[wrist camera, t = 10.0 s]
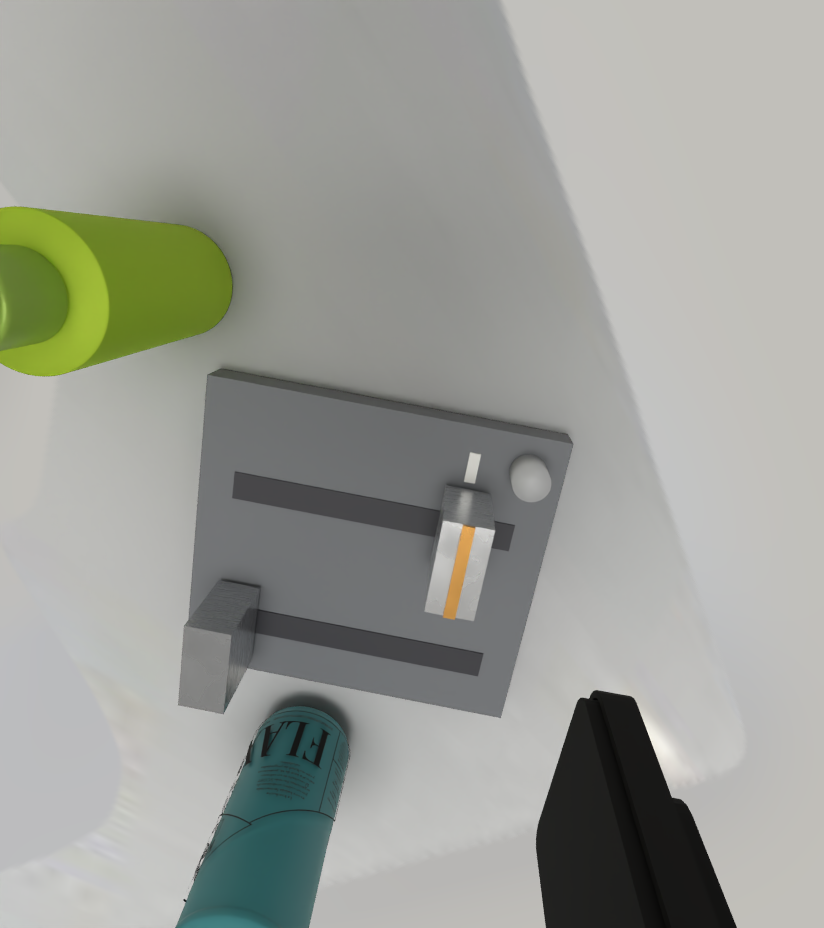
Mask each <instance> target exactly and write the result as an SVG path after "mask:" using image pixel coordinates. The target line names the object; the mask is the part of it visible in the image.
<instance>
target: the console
mask: <svg viewBox="0 0 824 928" xmlns="http://www.w3.org/2000/svg"><path fill="white" fill-rule="evenodd" d="M572 448H573V443H572V441H571V439H570V437H569V436H568V434H563V433H558V432H552V431H547V430H542V429H537V428H531V427H526V426H521V425H515V424H510V423H505V422H500V421H494V420H489V419H484V418H478V417H473V416H468V415H463V414H457V413H452V412H447V411H442V410H436V409H431V408H426V407H420V406H415V405H410V404H405V403H399V402H394V401H389V400H383V399H378V398H373V397H368V396H362V395H357V394H352V393H346V392H341V391H336V390H331V389H325V388H320V387H315V386H309V385H304V384H299V383H294V382H288V381H283V380H278V379H273V378H267V377H262V376H257V375H251V374H246V373H241V372H236V371H230V370H225V369H219V370H217V371H214V372H212V373H210V374H208V375H207V387H206V400H205V413H204V426H203V439H202V452H201V465H200V478H199V491H198V504H197V517H196V530H195V543H194V556H193V569H192V582H191V595H190V608H189V619H190V617H191V616H192V615H193V613H194V612H195V611H196V609H197V608H198V607H199V606H200V604H201V603H202V602H203V600H204V599H205V598H206V596H207V595H208V594H209V592H210V591H211V590H212V588H213V587H214V586H215V584H216V583H217V582H218V580H221V581H226V582H231V583H236V584H241V585H246V586H251V587H257V588H260V593H259V602H258V610H257V619H256V628H255V637H254V645H253V654H252V660H251V662H250V664H249V666H248V668H249V669H254V670H259V671H264V672H269V673H274V674H279V675H285V676H290V677H295V678H300V679H305V680H310V681H315V682H320V683H325V684H330V685H335V686H341V687H346V688H351V689H356V690H361V691H366V692H371V693H376V694H381V695H386V696H392V697H397V698H402V699H407V700H412V701H417V702H422V703H427V704H432V705H437V706H442V707H448V708H453V709H458V710H463V711H468V712H473V713H478V714H483V715H488V716H493V717H498V718H501V715H502V711H503V707H504V703H505V700H506V696H507V692H508V688H509V685H510V681H511V677H512V673H513V670H514V666H515V662H516V658H517V655H518V651H519V647H520V643H521V640H522V636H523V632H524V628H525V624H526V621H527V617H528V613H529V609H530V606H531V602H532V598H533V594H534V591H535V587H536V583H537V579H538V576H539V572H540V568H541V564H542V561H543V557H544V553H545V549H546V546H547V542H548V538H549V534H550V530H551V527H552V523H553V519H554V515H555V512H556V508H557V504H558V500H559V497H560V493H561V489H562V485H563V482H564V478H565V474H566V470H567V467H568V463H569V459H570V455H571V451H572ZM446 485H447V486H453V487H458V488H463V489H468V490H474V491H479V492H484V493H489V494H491V500H492V508H493V517H494V525H495V534H494V538H493V542H492V546H491V550H490V555H489V559H488V563H487V567H486V572H485V576H484V580H483V584H482V588H481V593H480V597H479V601H478V605H477V610H476V614H475V618H474V621H469V620H464V619H459V618H455V620H453V619H448V618H443V615H439V614H433V613H428V612H424V610H425V600H426V591H427V581H428V571H429V564H430V559H431V554H432V549H433V545H434V540H435V535H436V530H437V525H438V520H439V515H440V510H441V506H442V501H443V496H444V491H445V486H446Z"/></svg>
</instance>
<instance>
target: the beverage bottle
mask: <svg viewBox="0 0 824 928" xmlns="http://www.w3.org/2000/svg"><path fill="white" fill-rule="evenodd" d="M258 730H259V731H258V733H257V732H256V733H257V736H256V738H255V740H254V743H253V745H252V741H253V740H252V741H251V744H250V746H249V749H248V753H247V756H246V758H245V759H246V761H245V764H244V766H243V769H242V771H241V773H240V776H239V778H238V780H237V781H236V782H237V783H236V784H235V786H234V785H233V786H234V790H233V791H232V794H231V797H230V799H229V801H228V804H227V806H226V808H225V811H224V813H223V809H222V814H221V815H222V818H221V820H220V822H219V823H218V824H219V825H218V824H217V825H218V826H217V825H216V826H217V827H216V828H217V830H215V834H214V837H213V839H212V841H211V844H209V843H207V846H206V847H208V848H206V849H207V850H208V851H207V850H206V849H205V850H206V852H207V853H204V852H205V851H204V852H203V853H204V854H205V855H202V857H203V856H205V858H204V857H203V858H204V860H203V862H202V865H201V866H200V868H199V866H197V867H198V868H199V869H198V868H196V871H199V872H196V871H195V873H197V875H194V876H197V877H193V878H196V879H194V883H193V886H192V888H191V890H190V893H189V895H188V898H187V901H186V900H185V899H184V901H185V902H186V904H185V906H184V909H183V911H182V913H181V916H180V918H179V921H178V923H177V926H176V927H175V928H309V924H310V920H311V915H312V911H313V906H314V902H315V898H316V893H317V889H318V884H319V880H320V875H321V871H322V866H323V862H324V858H325V853H326V849H327V845H328V841H329V836H330V833H331V830H332V826H333V821H334V822H335V820H334V817H335V813H336V809H337V810H338V808H337V805H338V806H339V804H338V800H339V796H340V792H341V793H342V791H341V788H342V789H343V787H342V783H343V784H344V781H343V779H344V775H345V776H346V774H345V771H347V770H346V767H348V766H347V762H348V757H349V750H350V749H349V750H348V746H349V745H348V742H347V738H346V736H345V733H344V731H343V730H342V728H341V727H340V725H339V724H338V723H337V722H336V721H335V720H334V719H333V718H332V717H330V716H329V715H327V714H326V713H324V712H322V711H320V710H317V709H314V708H311V707H304V706H295V707H288V708H285V709H282V710H280V711H277V712H276V713H274V714H273V715H272V716H270V717H269V718H268V719H266V720H265V723H264V724H263V725H262V726H261V727H260V728H259V729H258ZM256 733H255V734H256ZM253 737H254V736H253ZM253 739H254V738H253ZM349 759H350V757H349ZM243 760H244V759H243ZM243 762H244V761H243ZM243 762H242V763H243ZM348 763H349V762H348ZM240 767H241V768H242V766H240ZM241 768H240V769H241ZM239 772H240V770H239V771H238V773H239ZM237 776H238V774H237ZM344 780H345V779H344ZM234 782H235V781H234ZM233 786H232V787H233ZM232 789H233V788H232ZM232 789H231V790H232ZM231 790H230V792H231ZM229 796H230V795H229ZM340 797H341V796H340ZM339 801H340V800H339ZM226 803H227V802H226V801H225V804H226ZM224 807H225V806H223V808H224ZM336 814H337V813H336ZM221 815H220V816H221ZM335 818H336V817H335ZM218 819H219V817H218ZM216 828H214V829H216ZM213 832H214V831H213ZM213 832H212V833H213ZM210 837H211V836H210ZM209 845H210V846H209ZM203 858H201V859H203ZM201 859H200V861H201ZM200 861H199V863H200ZM198 865H200V864H198ZM197 869H198V870H197Z"/></svg>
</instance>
